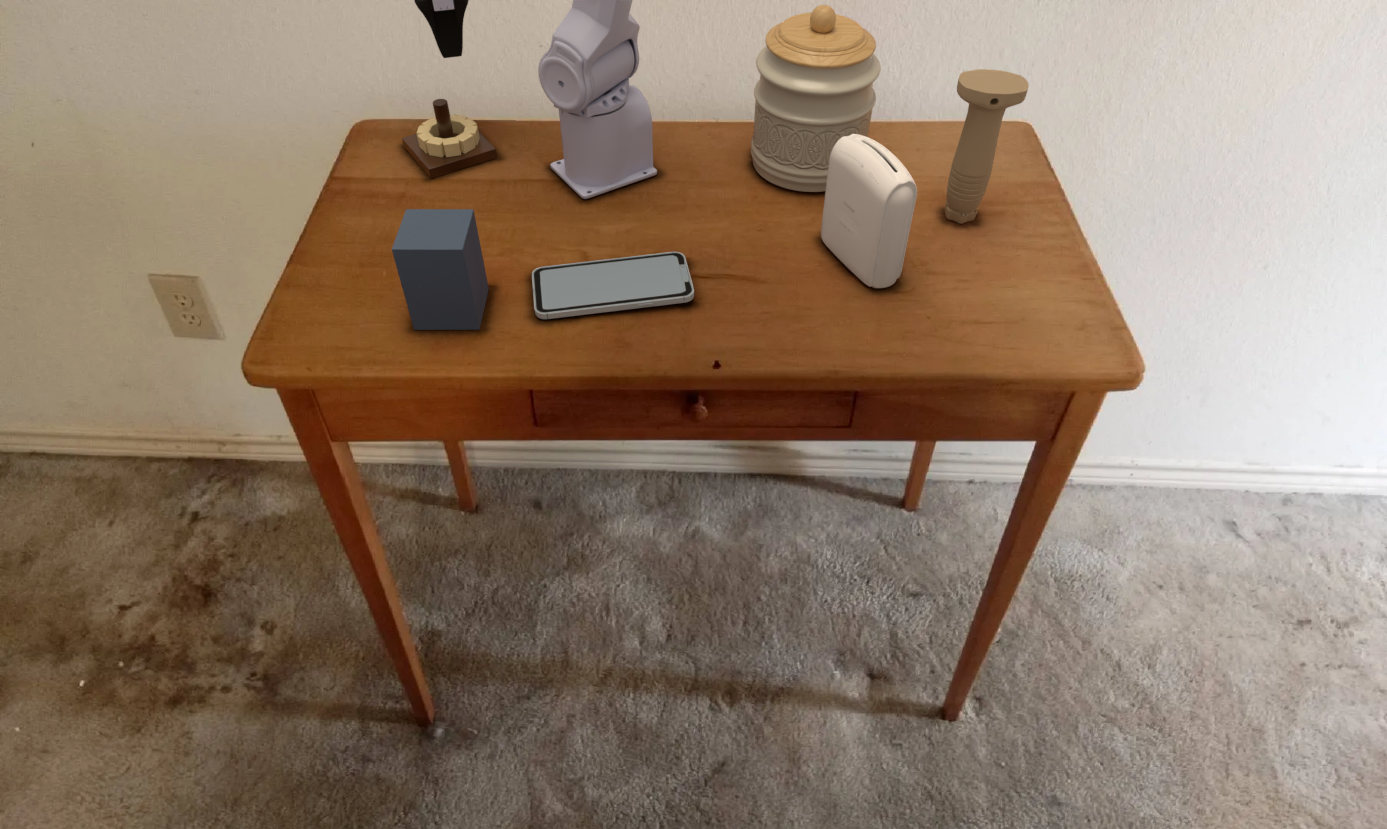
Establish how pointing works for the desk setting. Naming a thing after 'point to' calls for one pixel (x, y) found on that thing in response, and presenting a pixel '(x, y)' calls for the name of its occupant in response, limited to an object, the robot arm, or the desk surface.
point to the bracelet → (448, 146)
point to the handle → (979, 137)
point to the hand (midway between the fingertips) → (451, 49)
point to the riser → (441, 269)
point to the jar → (811, 96)
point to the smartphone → (611, 285)
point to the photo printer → (868, 209)
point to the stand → (445, 164)
